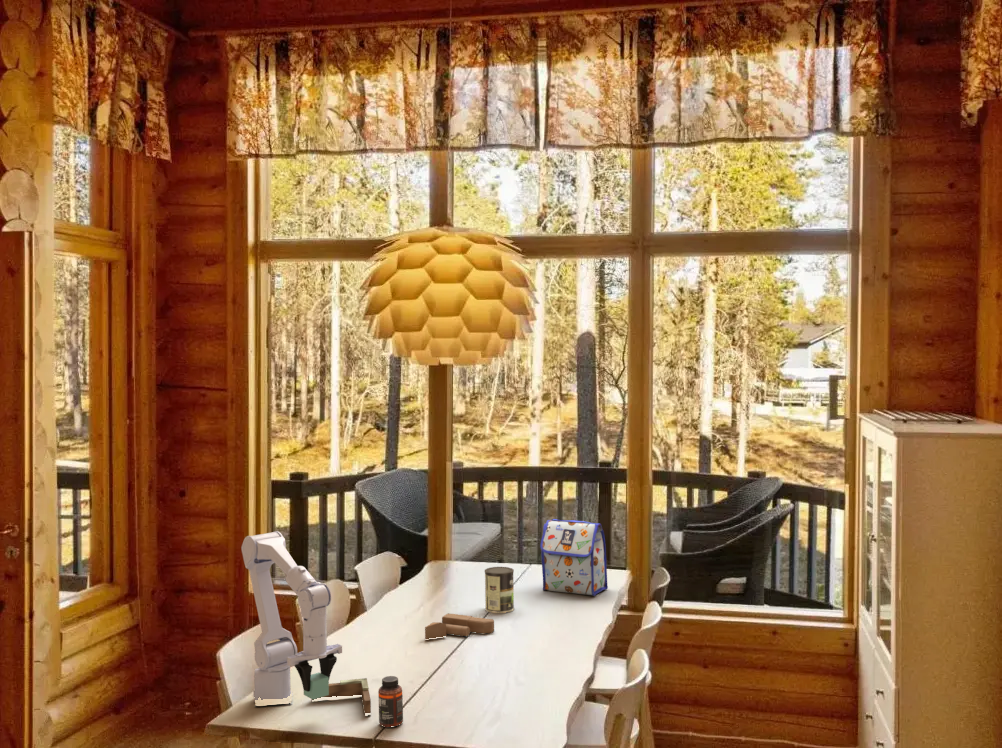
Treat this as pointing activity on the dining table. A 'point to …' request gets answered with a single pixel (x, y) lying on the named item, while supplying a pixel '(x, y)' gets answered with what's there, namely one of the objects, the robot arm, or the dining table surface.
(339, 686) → the corner arena
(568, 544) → the lunch bag
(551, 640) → the dining table surface
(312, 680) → the teal cube
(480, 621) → the wooden block set
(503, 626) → the dining table surface
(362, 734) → the dining table surface
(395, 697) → the supplement bottle
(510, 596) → the coffee can
